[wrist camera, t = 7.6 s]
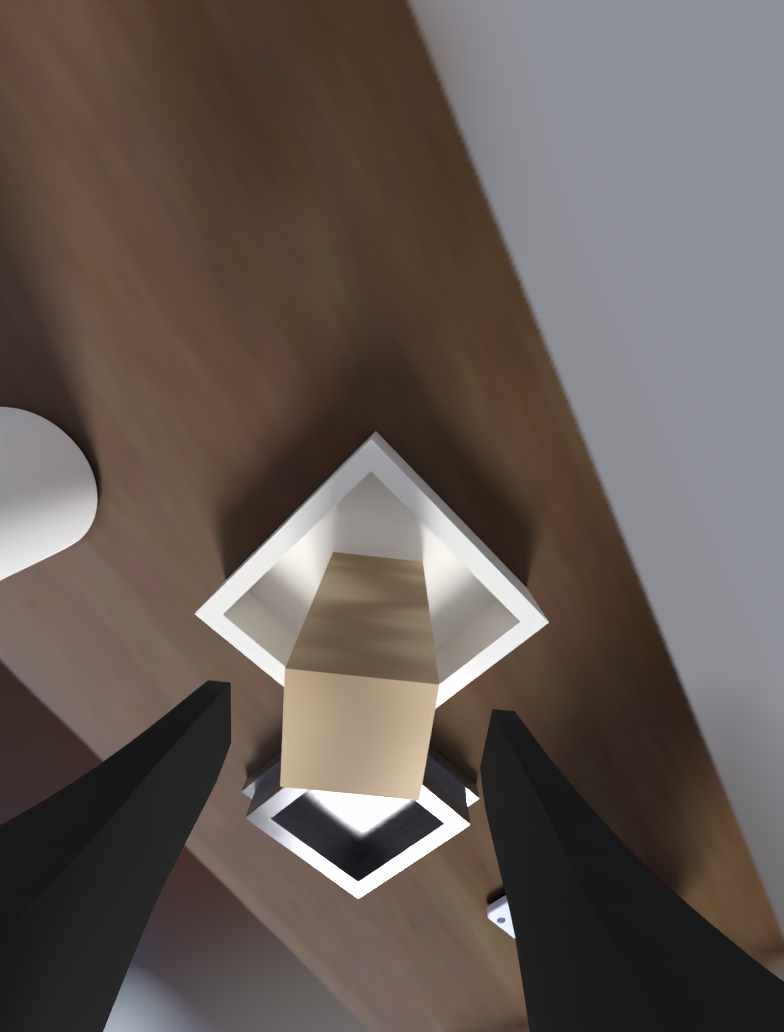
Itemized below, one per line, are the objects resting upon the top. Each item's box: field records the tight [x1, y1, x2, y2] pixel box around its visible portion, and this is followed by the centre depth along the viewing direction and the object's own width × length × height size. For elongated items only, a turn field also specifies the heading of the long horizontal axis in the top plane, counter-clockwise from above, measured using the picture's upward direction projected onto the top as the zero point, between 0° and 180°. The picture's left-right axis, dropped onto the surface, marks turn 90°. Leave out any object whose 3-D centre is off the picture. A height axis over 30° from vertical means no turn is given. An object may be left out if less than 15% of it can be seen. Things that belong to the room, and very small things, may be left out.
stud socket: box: [242, 744, 479, 899], centre depth 22 cm, size 9×9×2 cm
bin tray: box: [195, 431, 549, 708], centre depth 18 cm, size 10×10×3 cm
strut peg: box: [280, 552, 439, 801], centre depth 15 cm, size 4×4×8 cm
